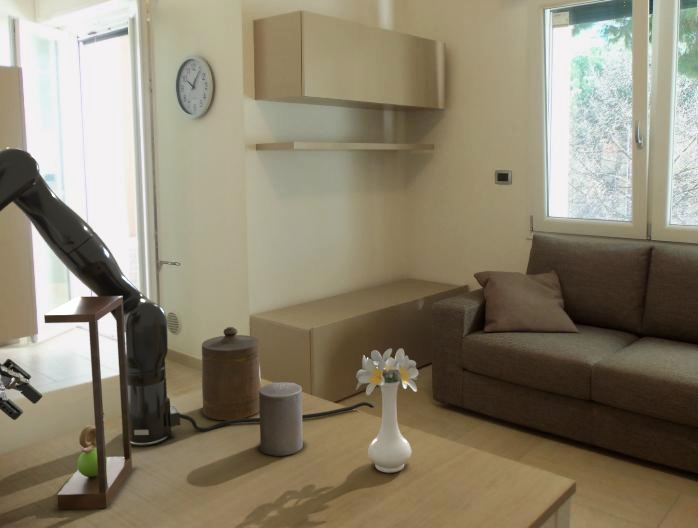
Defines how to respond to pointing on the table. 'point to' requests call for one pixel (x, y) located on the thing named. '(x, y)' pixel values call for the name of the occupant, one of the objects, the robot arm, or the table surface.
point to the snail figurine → (88, 452)
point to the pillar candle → (280, 418)
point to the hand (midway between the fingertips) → (29, 408)
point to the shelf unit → (98, 406)
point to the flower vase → (388, 406)
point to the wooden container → (230, 376)
